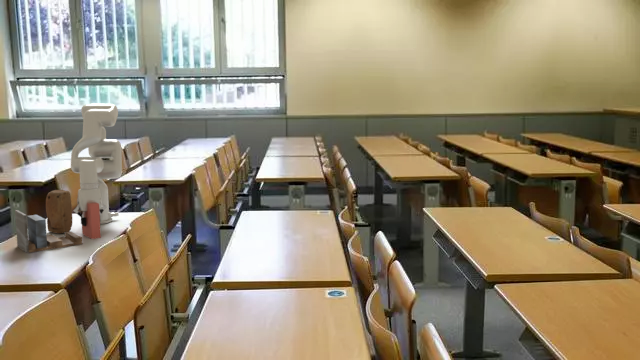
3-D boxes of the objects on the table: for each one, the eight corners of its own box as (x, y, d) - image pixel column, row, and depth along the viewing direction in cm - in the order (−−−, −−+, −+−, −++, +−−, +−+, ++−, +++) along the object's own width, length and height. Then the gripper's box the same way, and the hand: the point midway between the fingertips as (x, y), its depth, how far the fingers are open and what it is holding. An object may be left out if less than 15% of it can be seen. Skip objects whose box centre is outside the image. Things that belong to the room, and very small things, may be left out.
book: (90, 232, 286) (89, 199, 283) (100, 237, 277) (99, 203, 274) (82, 234, 283) (80, 200, 281) (92, 239, 274) (90, 204, 272)
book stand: (71, 237, 276) (69, 203, 273) (82, 244, 266) (80, 208, 263) (17, 246, 261) (14, 209, 258) (26, 253, 251) (24, 215, 248)
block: (74, 231, 288) (72, 190, 285) (64, 234, 281) (61, 192, 278) (55, 229, 291) (53, 188, 288) (44, 233, 284) (42, 191, 281)
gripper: (104, 183, 285) (105, 220, 288) (67, 187, 274) (69, 225, 276) (110, 185, 279) (112, 223, 282) (72, 189, 268) (74, 228, 271)
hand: (90, 224), depth 279 cm, fingers open, 5 cm apart
